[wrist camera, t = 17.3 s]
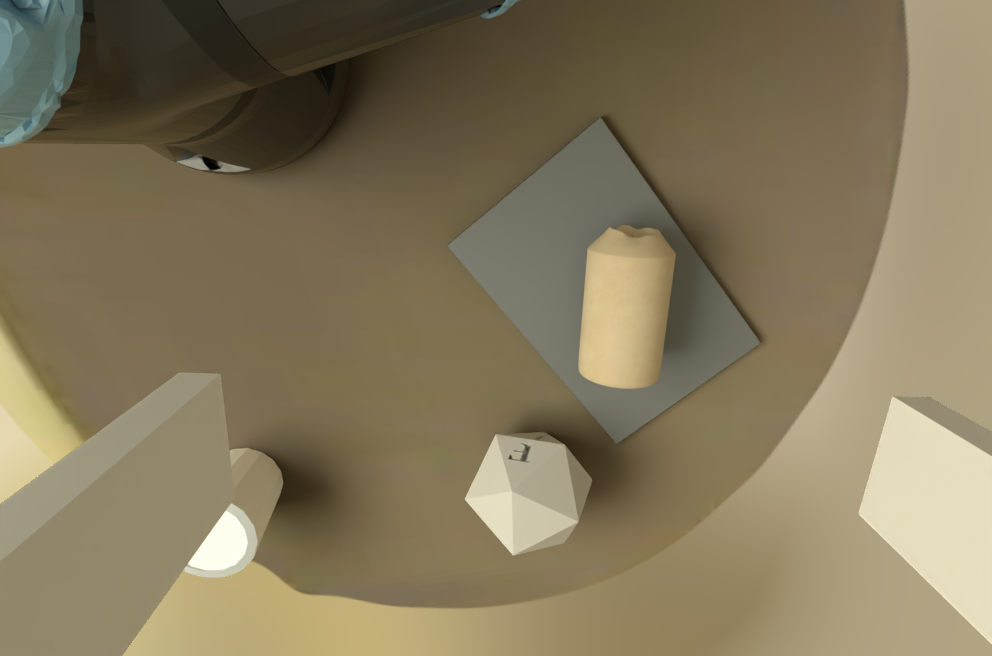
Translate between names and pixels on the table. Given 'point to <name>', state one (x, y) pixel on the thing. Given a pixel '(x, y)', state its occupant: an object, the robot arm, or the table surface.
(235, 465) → the shot glass
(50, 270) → the table surface
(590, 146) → the mat
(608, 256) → the candle
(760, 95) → the table surface
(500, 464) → the die
